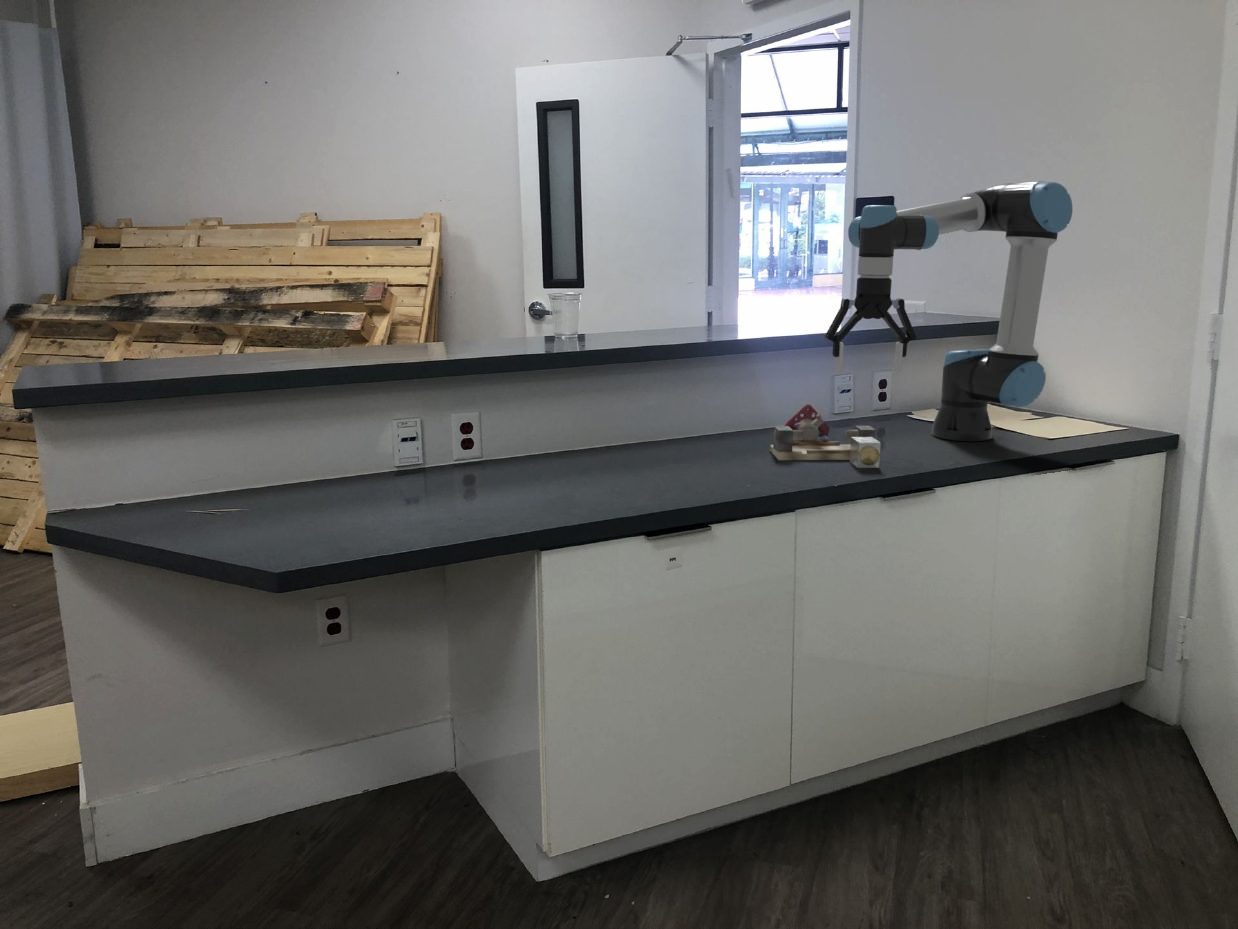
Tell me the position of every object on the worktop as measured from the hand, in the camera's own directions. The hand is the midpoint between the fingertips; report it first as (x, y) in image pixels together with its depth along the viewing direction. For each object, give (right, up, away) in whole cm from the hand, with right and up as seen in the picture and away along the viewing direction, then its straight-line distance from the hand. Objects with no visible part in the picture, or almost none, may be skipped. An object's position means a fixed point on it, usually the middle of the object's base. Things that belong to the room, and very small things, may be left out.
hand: (868, 371), depth 221 cm
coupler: (0, -21, +5) cm, 22 cm away
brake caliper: (-10, -17, +23) cm, 30 cm away
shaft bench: (-7, -19, +14) cm, 25 cm away
